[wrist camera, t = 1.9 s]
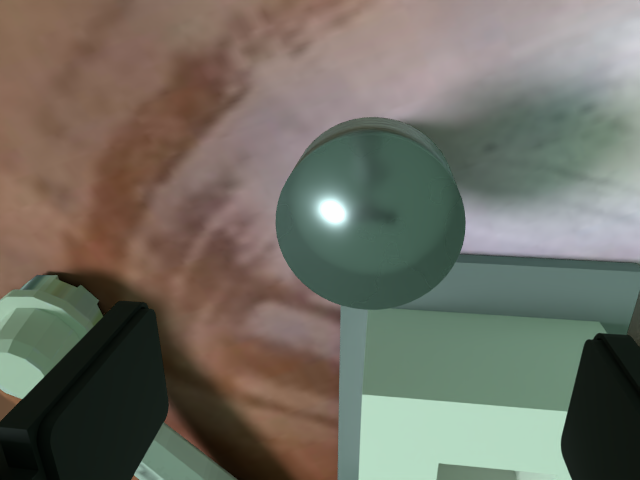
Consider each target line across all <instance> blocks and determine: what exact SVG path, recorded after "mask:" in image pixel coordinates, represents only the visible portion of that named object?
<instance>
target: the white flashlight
mask: <svg viewBox="0 0 640 480" xmlns="http://www.w3.org/2000/svg"><path fill="white" fill-rule="evenodd" d="M98 302H99V300H98V299H97V298H96V297H94V296H93V295H92V294H91V293H90V292H89V291H87V290H86V289H85V288H84V287H83V286H82V285H80V286H78V287H75V286H72V285H70V284H67V283H65V282H62V281H60V280H59V278H58V275H37V276H35V277H34V278H33V279H31V280H30V281H29V282H27V283H26V284H25V285H24V286H23V287H22V288H21V289H20V290H12V291H11V292H10V293H8V294H7V295H6V296H4V297H3V298H2V299H0V389H1V390H2V391H4V392H5V393H7V394H10V395H13V396H16V397H18V398H21V399H23V398H24V397H25V396H26V395H27V394H28V393H29V392H30V391H31V390H32V389H33V388H34V387H35V386H36V385H37V384H38V383H39V382H40V381H41V380H42V379H43V378H44V376H45V375H46V374H47V373H48V372H49V371H50V370H51V369H52V368H53V367H54V366H55V365H56V364H57V363H58V362H59V361H60V360H61V359H62V358H63V357H64V356H65V355H66V354H67V353H68V352H69V351H70V350H71V349H72V348H73V347H74V346H75V345H76V344H77V343H78V342H79V341H80V340H81V339H82V338H83V337H84V336H85V335H86V334H87V333H88V332H89V331H90V330H91V329H92V328H93V327H94V326H95V325H96V323H97V322H98V321H99V320H100V319H101V318H102V317H103V315H102V313H101V311H100V309H99V307H98V305H97V303H98ZM134 475H135V476H136V477H137V478H138V479H140V480H238V479H236V478H235V477H234V476H232V475H231V474H230V473H229V472H227V471H226V470H225V469H223V468H222V467H221V466H220V465H218V464H217V463H216V462H214V461H213V460H212V459H211V458H209V457H208V456H207V455H205V454H204V453H203V452H202V451H200V450H199V449H198V448H196V447H195V446H194V445H193V444H191V443H190V442H189V441H187V440H186V439H185V438H183V437H182V436H181V435H180V434H178V433H177V432H176V431H174V430H173V429H172V428H171V427H169V426H168V425H167V424H165V423H163V424H162V426H161V428H160V430H159V431H158V433H157V435H156V437H155V438H154V440H153V442H152V444H151V445H150V447H149V449H148V451H147V452H146V454H145V456H144V458H143V460H142V461H141V463H140V465H139V467H138V468H137V470H136V472H135V474H134Z"/></svg>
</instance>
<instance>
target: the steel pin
mask: <svg viewBox="0 0 640 480" xmlns="http://www.w3.org/2000/svg"><path fill="white" fill-rule="evenodd" d="M276 232H277V238H278V242H279V246H280V249H281V251H282V254H283V256H284V258H285V260H286V262H287V264H288V265H289V267H290V268H291V270H292V271H293V272H294V274H295V275H296V276H297V277H298V278H299V279H300V280H301V282H302V283H303V284H305V285H306V286H307V287H308V288H309V289H311V290H312V291H313V292H315V293H316V294H318V295H320V296H321V297H323V298H325V299H327V300H329V301H331V302H334V303H336V304H339V305H342V306H346V307H350V308H355V309H364V310H379V309H388V308H393V307H397V306H401V305H404V304H407V303H410V302H412V301H414V300H416V299H418V298H420V297H422V296H423V295H425V294H426V293H428V292H430V291H431V290H432V289H433V288H435V287H436V286H437V285H438V284H439V283H440V282H441V281H442V280H443V279H444V278H445V277H446V276H447V274H448V273H449V272H450V270H451V269H452V267H453V266H454V264H455V262H456V260H457V258H458V256H459V254H460V251H461V248H462V245H463V241H464V236H465V211H464V206H463V202H462V198H461V196H460V193H459V191H458V188H457V185H456V183H455V180H454V178H453V175H452V173H451V170H450V168H449V165H448V163H447V161H446V159H445V157H444V156H443V154H442V152H441V151H440V150H439V149H438V147H437V146H436V145H435V144H434V143H433V142H432V141H431V140H430V139H429V138H428V137H427V136H426V135H424V134H423V133H421V132H420V131H419V130H417V129H415V128H413V127H411V126H410V125H408V124H405V123H402V122H400V121H397V120H392V119H388V118H379V117H366V118H358V119H353V120H349V121H346V122H343V123H340V124H338V125H336V126H334V127H332V128H330V129H328V130H327V131H325V132H324V133H322V134H321V135H320V136H319V137H318V138H316V139H315V140H314V141H313V142H312V143H311V144H310V145H309V147H308V148H307V149H306V150H305V152H304V153H303V155H302V156H301V158H300V160H299V161H298V163H297V164H296V166H295V168H294V169H293V171H292V173H291V174H290V176H289V178H288V179H287V181H286V183H285V185H284V187H283V189H282V191H281V194H280V197H279V201H278V205H277V211H276Z"/></svg>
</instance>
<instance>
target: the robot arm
mask: <svg viewBox="0 0 640 480" xmlns="http://www.w3.org/2000/svg"><path fill="white" fill-rule="evenodd" d="M168 406H169V403H168V395H167V389H166V382H165V375H164V368H163V361H162V355H161V348H160V341H159V334H158V327H157V321H156V315H155V312H154V310H152V309H149V308H148V306H147V304H146V303H144V302H131V301H119V302H117V303H116V304H115V305H114V306H113V307H112V308H111V309H110V310H109V311H108V312H107V313H106V314H105V315H104V316H103V317H102V318H101V319H100V320H99V321H98V322H97V323H96V325H95V326H94V327H93V328H92V329H91V330H90V331H89V332H88V333H87V334H86V335H85V336H84V337H83V338H82V339H81V340H80V341H79V342H78V343H77V344H76V345H75V346H74V347H73V348H72V349H71V350H70V351H69V352H68V353H67V354H66V355H65V356H64V357H63V358H62V359H61V360H60V361H59V362H58V363H57V364H56V365H55V366H54V367H53V368H52V369H51V370H50V371H49V372H48V373H47V374H46V375H45V376H44V378H43V379H42V380H41V381H40V382H39V383H38V384H37V385H36V386H35V387H34V388H33V389H32V390H31V391H30V392H29V393H28V394H27V395H26V396H25V397H24V398H23V399H22V400H21V401H20V402H19V403H18V404H17V405H16V406H15V407H14V408H13V409H12V410H11V411H10V412H9V413H8V414H7V415H6V416H5V417H4V418H3V419H2V420H1V421H0V480H131V479H132V477H133V475H134V474H135V472H136V470H137V468H138V467H139V465H140V463H141V461H142V460H143V458H144V456H145V454H146V452H147V451H148V449H149V447H150V445H151V444H152V442H153V440H154V438H155V437H156V435H157V433H158V431H159V430H160V428H161V426H162V424H163V423H164V421H165V419H166V416H167V413H168ZM561 452H562V456H563V459H564V462H565V464H566V467H567V469H568V472H569V474H570V477H571V479H572V480H640V347H639V346H638V345H637V344H636V342H635V341H634V340H633V338H632V337H630V336H629V335H622V334H607V333H598V334H596V335H595V337H594V339H593V340H592V339H588V340H586V342H585V344H584V347H583V351H582V355H581V359H580V363H579V367H578V371H577V375H576V379H575V383H574V387H573V391H572V396H571V400H570V404H569V408H568V412H567V416H566V420H565V424H564V428H563V432H562V436H561Z"/></svg>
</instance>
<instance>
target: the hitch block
mask: <svg viewBox="0 0 640 480" xmlns="http://www.w3.org/2000/svg"><path fill="white" fill-rule="evenodd" d="M639 291H640V267H639V266H638V265H637V264H636V263H622V262H602V261H583V260H563V259H544V258H524V257H504V256H485V255H465V254H459V256H458V258H457V260H456V262H455V264H454V266H453V267H452V269H451V270H450V272H449V273H448V274H447V276H446V277H445V278H444V279H443V280H442V281H441V282H440V283H439V284H438V285H437V286H436V287H435V288H433V289H432V290H431V291H430V292H428V293H426V294H425V295H423V296H422V297H420V298H418V299H416V300H414V301H412V302H410V303H407V304H404V305H401V306H397V307H393V308H388V309H379V310H364V309H355V308H350V307H346V306H342V305H341V323H340V380H339V436H338V480H572V479H571V477H570V474H569V472H568V469H567V467H566V464H565V462H564V459H563V456H562V452H561V436H562V432H563V428H564V424H565V420H566V416H567V412H568V408H569V404H570V400H571V396H572V391H573V387H574V383H575V379H576V375H577V371H578V367H579V363H580V359H581V355H582V351H583V347H584V344H585V342H586V340H588V339H592V340H593V339H594V337H595V335H596V334H598V333H607V334H622V335H627V332H628V328H629V325H630V321H631V318H632V315H633V311H634V308H635V305H636V301H637V298H638V295H639Z"/></svg>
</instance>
